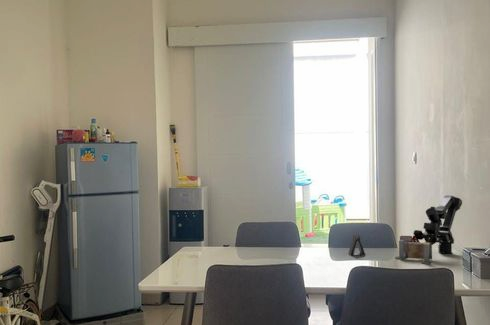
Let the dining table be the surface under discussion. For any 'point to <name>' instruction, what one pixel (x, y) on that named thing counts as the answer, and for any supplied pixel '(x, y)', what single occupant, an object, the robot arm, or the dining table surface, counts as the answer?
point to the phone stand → (355, 245)
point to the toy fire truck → (409, 239)
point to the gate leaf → (416, 250)
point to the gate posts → (402, 252)
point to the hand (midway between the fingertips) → (426, 247)
